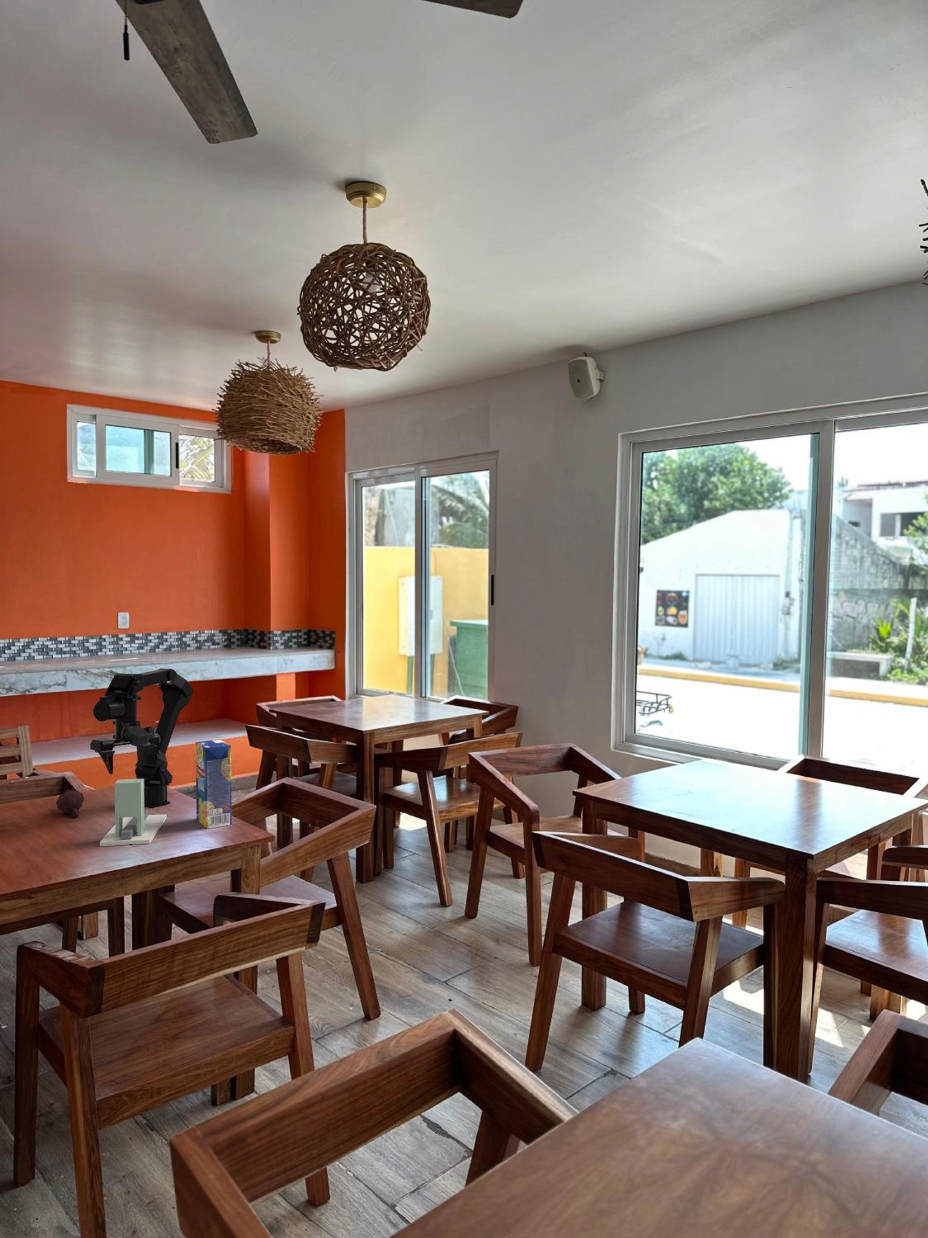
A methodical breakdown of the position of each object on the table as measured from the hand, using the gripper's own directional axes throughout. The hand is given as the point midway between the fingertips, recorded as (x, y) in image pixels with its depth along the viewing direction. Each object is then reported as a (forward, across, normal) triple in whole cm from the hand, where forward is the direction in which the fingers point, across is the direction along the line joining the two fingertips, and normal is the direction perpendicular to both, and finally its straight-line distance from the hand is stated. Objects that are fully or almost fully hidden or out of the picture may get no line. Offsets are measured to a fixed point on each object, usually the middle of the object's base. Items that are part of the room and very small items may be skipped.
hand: (126, 771), depth 236 cm
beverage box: (+13, +11, -25) cm, 31 cm away
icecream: (+13, -7, +16) cm, 22 cm away
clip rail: (+13, -7, -15) cm, 21 cm away
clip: (+12, -11, -20) cm, 26 cm away
